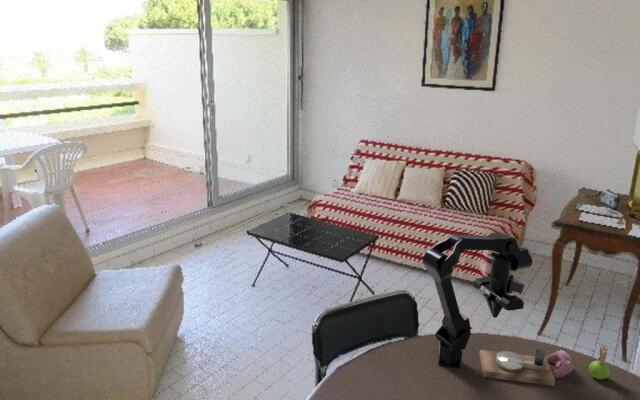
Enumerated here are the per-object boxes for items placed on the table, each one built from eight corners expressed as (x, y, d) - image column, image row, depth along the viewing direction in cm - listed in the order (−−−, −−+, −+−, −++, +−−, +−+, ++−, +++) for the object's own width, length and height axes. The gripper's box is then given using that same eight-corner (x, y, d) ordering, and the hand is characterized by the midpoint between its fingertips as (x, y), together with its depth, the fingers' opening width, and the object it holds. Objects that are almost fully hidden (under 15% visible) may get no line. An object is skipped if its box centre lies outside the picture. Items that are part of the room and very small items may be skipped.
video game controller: (564, 384, 151) (578, 367, 149) (551, 377, 151) (565, 359, 149) (555, 366, 161) (569, 350, 158) (543, 358, 161) (556, 342, 159)
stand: (483, 376, 151) (484, 369, 151) (479, 355, 163) (480, 348, 162) (554, 386, 148) (555, 378, 147) (544, 363, 159) (545, 356, 158)
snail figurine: (589, 382, 150) (595, 346, 147) (586, 370, 156) (593, 336, 153) (609, 386, 148) (616, 350, 145) (606, 374, 154) (613, 339, 151)
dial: (496, 369, 151) (498, 350, 150) (495, 355, 159) (497, 337, 157) (543, 377, 148) (546, 358, 146) (540, 362, 155) (543, 344, 154)
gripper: (542, 281, 152) (535, 328, 156) (503, 259, 170) (498, 301, 174) (510, 285, 149) (504, 332, 153) (474, 262, 166) (470, 305, 170)
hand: (494, 317), depth 163 cm, fingers closed
